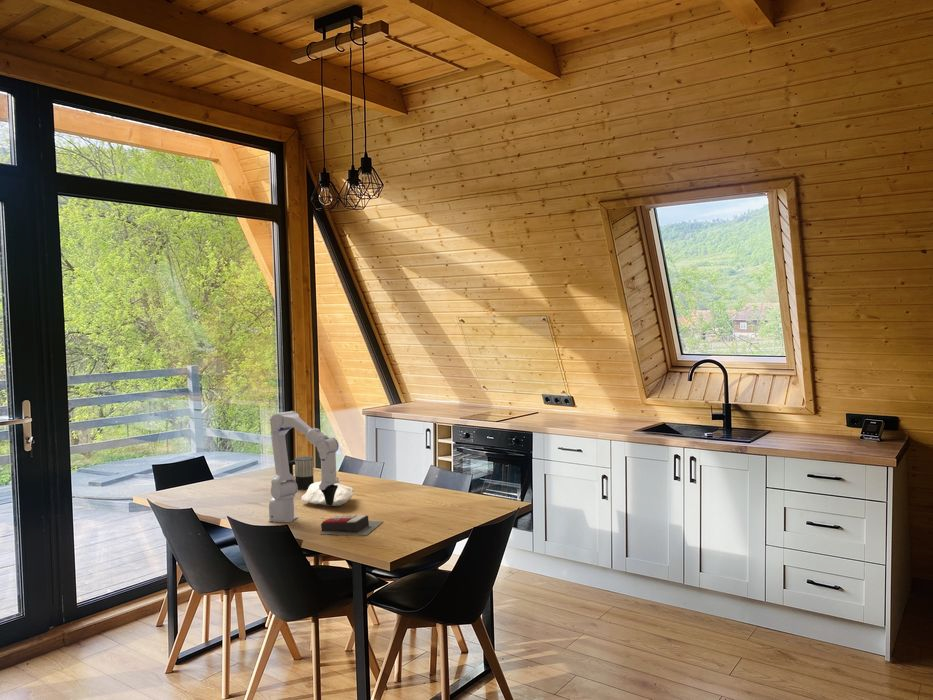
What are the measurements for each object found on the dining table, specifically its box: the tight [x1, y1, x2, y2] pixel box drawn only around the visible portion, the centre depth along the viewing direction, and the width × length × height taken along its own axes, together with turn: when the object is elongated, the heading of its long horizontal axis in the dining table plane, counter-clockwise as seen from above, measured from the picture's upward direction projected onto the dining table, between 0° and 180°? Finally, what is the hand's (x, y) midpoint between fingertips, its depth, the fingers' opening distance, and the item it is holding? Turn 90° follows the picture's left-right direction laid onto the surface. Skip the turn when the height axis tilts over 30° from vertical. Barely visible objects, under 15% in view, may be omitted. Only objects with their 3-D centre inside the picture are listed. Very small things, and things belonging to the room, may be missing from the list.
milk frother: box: [288, 456, 315, 490], centre depth 360 cm, size 14×16×15 cm
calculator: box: [320, 514, 370, 532], centre depth 285 cm, size 11×4×15 cm
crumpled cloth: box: [300, 480, 355, 507], centre depth 329 cm, size 24×35×9 cm
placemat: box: [320, 520, 384, 537], centre depth 286 cm, size 18×20×1 cm
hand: (329, 504), depth 288 cm, fingers closed
